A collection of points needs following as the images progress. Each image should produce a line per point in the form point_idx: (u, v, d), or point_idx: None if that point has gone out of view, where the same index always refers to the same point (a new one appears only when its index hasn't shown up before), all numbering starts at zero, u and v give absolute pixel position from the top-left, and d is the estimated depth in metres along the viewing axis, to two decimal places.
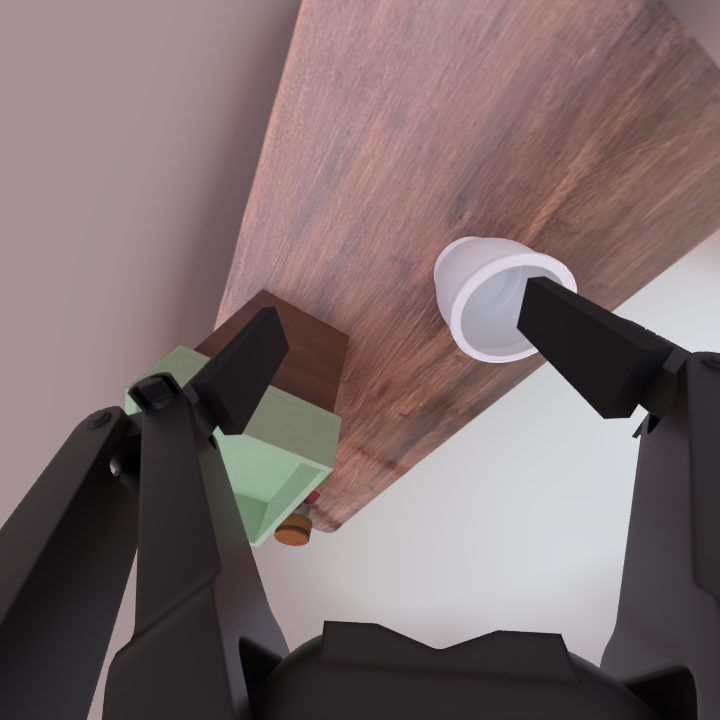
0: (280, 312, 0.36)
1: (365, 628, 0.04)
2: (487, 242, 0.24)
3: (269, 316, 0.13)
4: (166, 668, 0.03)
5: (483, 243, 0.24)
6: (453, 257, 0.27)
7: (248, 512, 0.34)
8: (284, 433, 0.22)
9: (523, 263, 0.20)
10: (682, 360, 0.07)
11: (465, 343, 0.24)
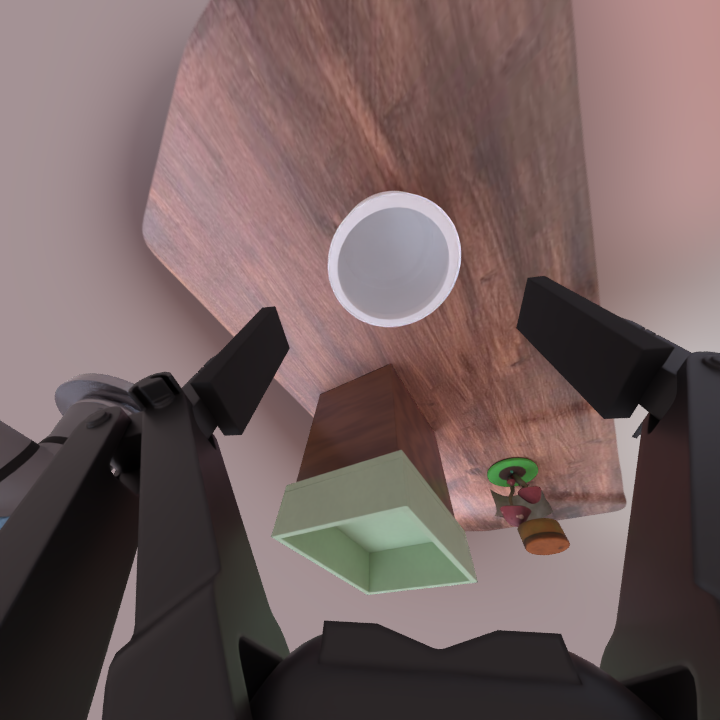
0: (335, 399, 0.44)
1: (365, 628, 0.04)
2: None
3: (269, 316, 0.13)
4: (166, 667, 0.03)
5: None
6: (341, 271, 0.27)
7: None
8: (359, 501, 0.26)
9: (339, 246, 0.19)
10: (682, 360, 0.07)
11: (400, 320, 0.23)
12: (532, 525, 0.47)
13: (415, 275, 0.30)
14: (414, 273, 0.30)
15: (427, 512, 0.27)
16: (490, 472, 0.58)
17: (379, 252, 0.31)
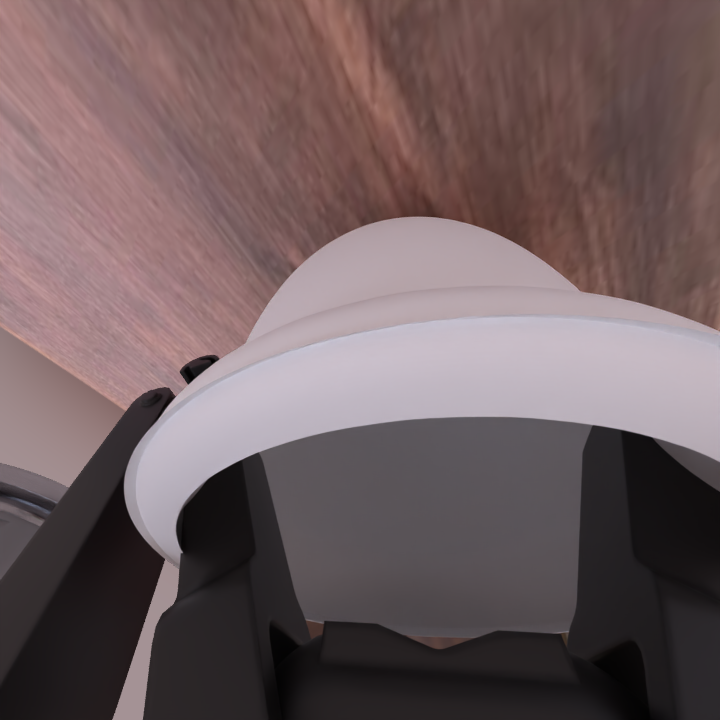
0: None
1: (365, 628, 0.04)
2: None
3: None
4: (205, 639, 0.03)
5: None
6: None
7: None
8: None
9: (166, 524, 0.04)
10: None
11: None
12: None
13: None
14: None
15: None
16: None
17: None
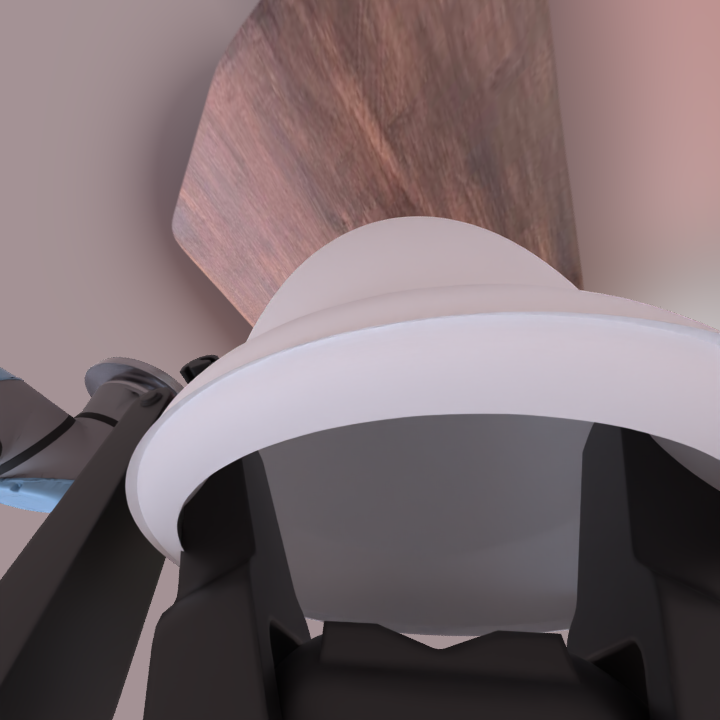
0: None
1: (365, 628, 0.04)
2: None
3: None
4: (204, 639, 0.03)
5: None
6: None
7: None
8: None
9: (168, 521, 0.04)
10: None
11: (442, 635, 0.07)
12: None
13: None
14: None
15: None
16: None
17: None
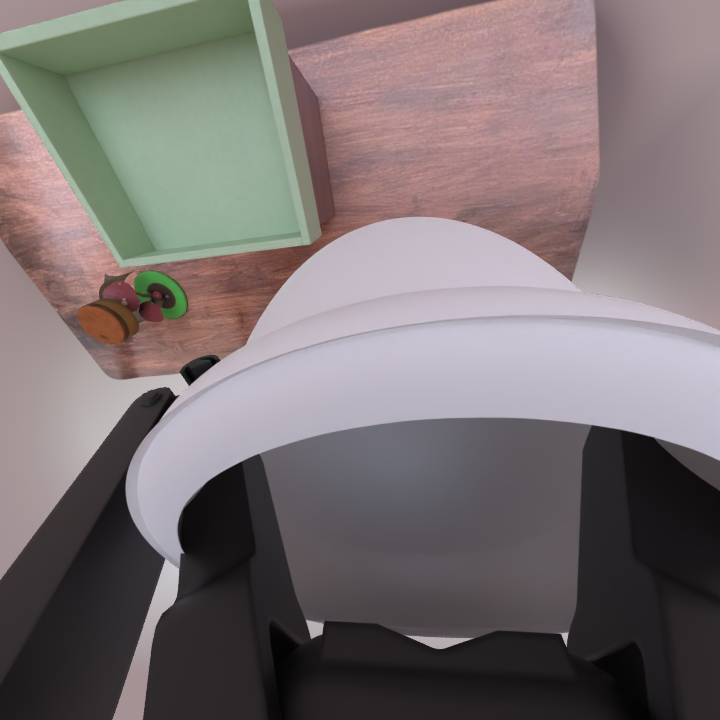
0: (318, 130, 0.36)
1: (365, 628, 0.04)
2: None
3: None
4: (205, 639, 0.03)
5: None
6: None
7: (133, 233, 0.29)
8: (301, 183, 0.24)
9: (168, 524, 0.04)
10: None
11: None
12: (127, 314, 0.44)
13: None
14: None
15: None
16: (161, 275, 0.52)
17: None
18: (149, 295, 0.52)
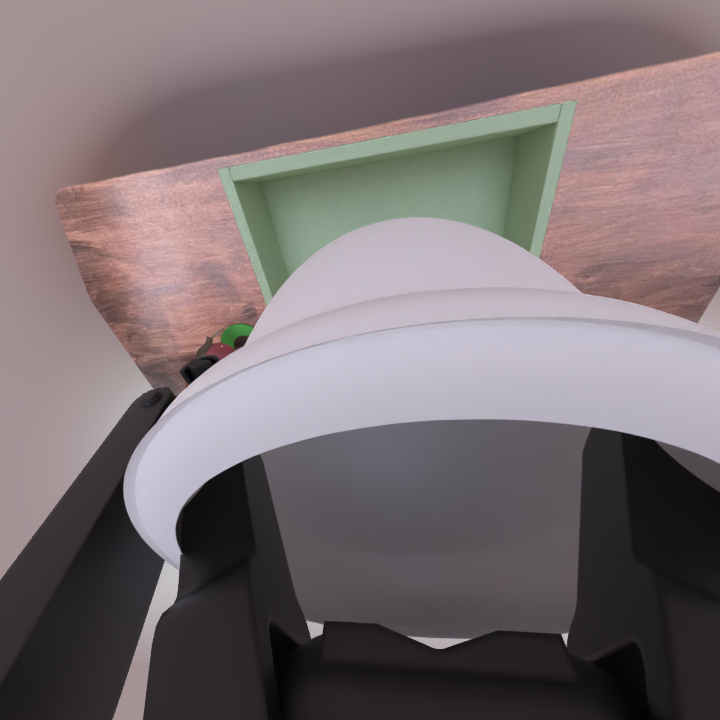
0: None
1: (365, 628, 0.04)
2: None
3: None
4: (205, 639, 0.03)
5: None
6: None
7: None
8: None
9: (166, 525, 0.04)
10: None
11: None
12: None
13: None
14: None
15: None
16: (251, 328, 0.50)
17: None
18: None
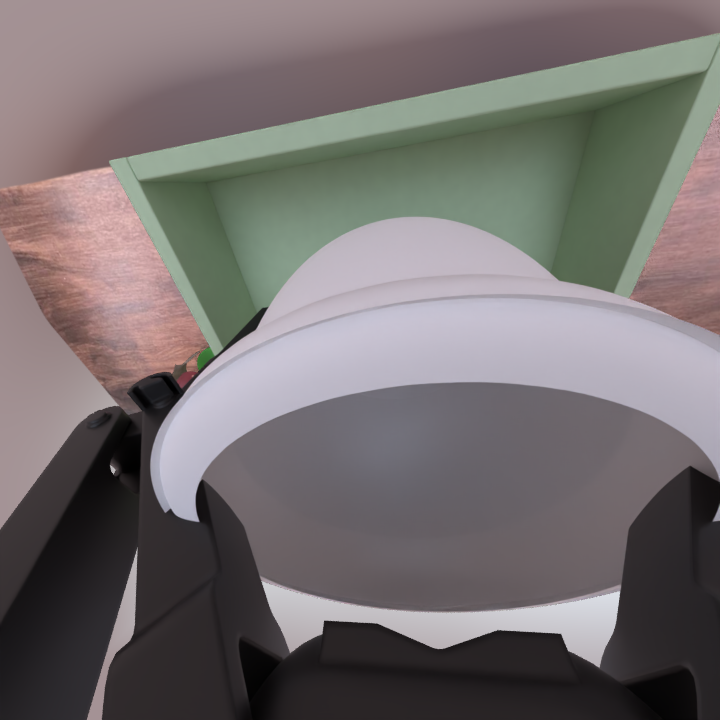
0: None
1: (365, 628, 0.04)
2: None
3: None
4: (166, 668, 0.03)
5: None
6: None
7: None
8: None
9: (187, 492, 0.04)
10: None
11: (438, 612, 0.07)
12: None
13: None
14: None
15: None
16: None
17: None
18: None
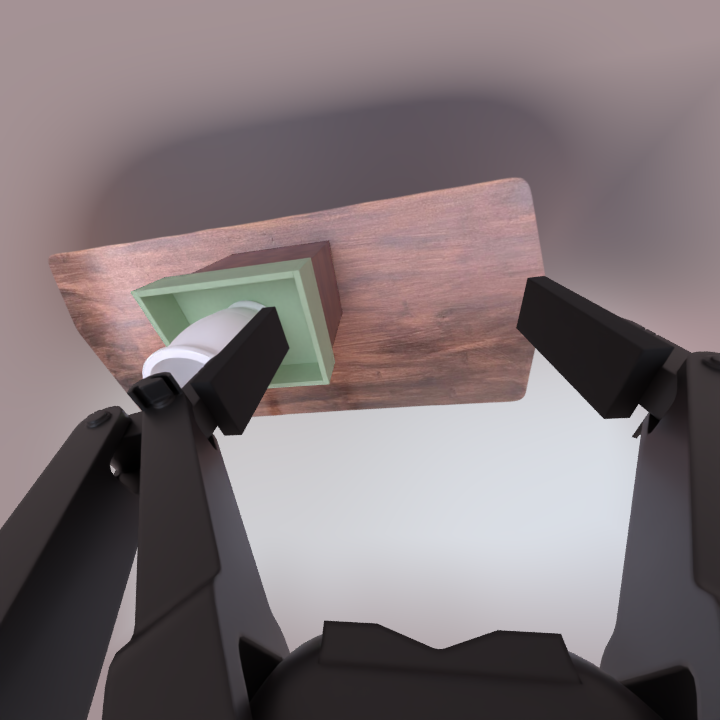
0: (330, 267, 0.48)
1: (365, 628, 0.04)
2: None
3: (269, 316, 0.13)
4: (166, 668, 0.03)
5: None
6: (195, 366, 0.33)
7: None
8: (323, 350, 0.36)
9: None
10: (682, 360, 0.07)
11: None
12: None
13: None
14: None
15: None
16: None
17: None
18: None
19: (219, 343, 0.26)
